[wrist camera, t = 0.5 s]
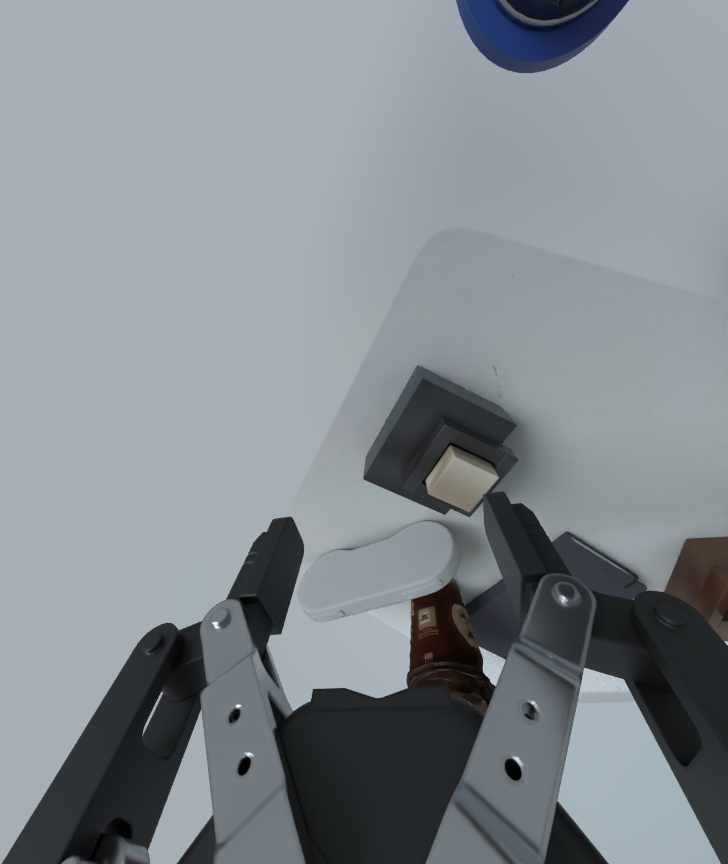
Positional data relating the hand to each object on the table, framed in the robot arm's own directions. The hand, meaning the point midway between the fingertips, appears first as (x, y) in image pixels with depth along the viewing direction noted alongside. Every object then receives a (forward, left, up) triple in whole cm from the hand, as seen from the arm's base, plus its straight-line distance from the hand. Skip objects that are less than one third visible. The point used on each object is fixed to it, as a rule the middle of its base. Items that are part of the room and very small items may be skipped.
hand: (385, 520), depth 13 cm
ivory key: (+6, +5, -12) cm, 15 cm away
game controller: (+20, -4, -18) cm, 27 cm away
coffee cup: (+29, +3, -18) cm, 34 cm away
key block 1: (+5, +4, -18) cm, 19 cm away
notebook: (+32, +16, -18) cm, 40 cm away
